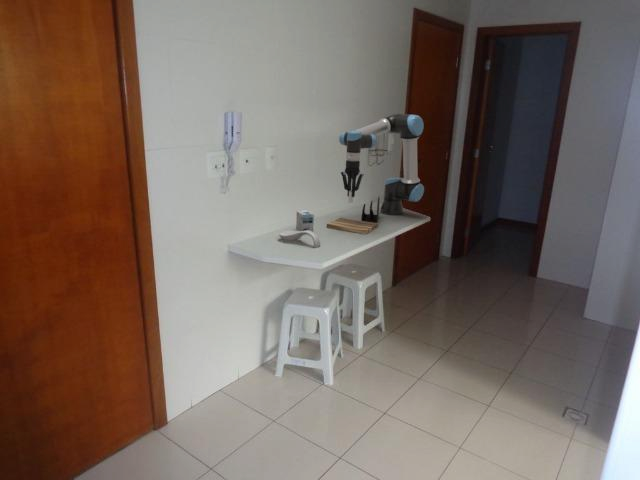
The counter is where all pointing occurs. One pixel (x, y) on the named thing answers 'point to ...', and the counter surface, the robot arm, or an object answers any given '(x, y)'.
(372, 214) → the letter holder
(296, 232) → the white curved piece
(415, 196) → the robot arm
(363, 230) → the oak plank
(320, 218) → the counter surface
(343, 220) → the walnut board
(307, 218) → the light bulb box
